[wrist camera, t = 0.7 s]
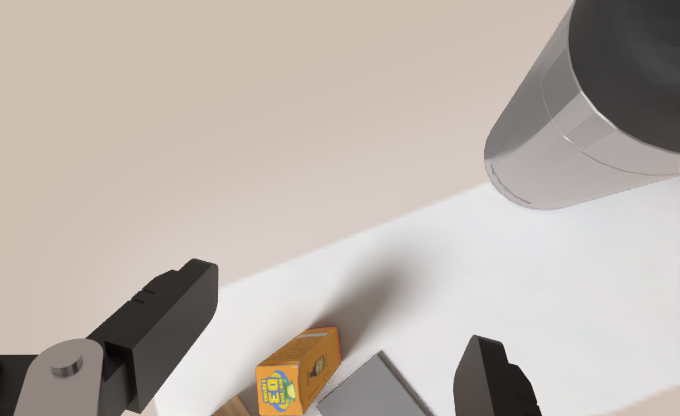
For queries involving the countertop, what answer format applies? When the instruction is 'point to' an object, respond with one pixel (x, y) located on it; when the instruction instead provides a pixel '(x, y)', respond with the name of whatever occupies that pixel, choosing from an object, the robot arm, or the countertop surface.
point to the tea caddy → (232, 408)
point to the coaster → (370, 394)
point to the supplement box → (297, 372)
